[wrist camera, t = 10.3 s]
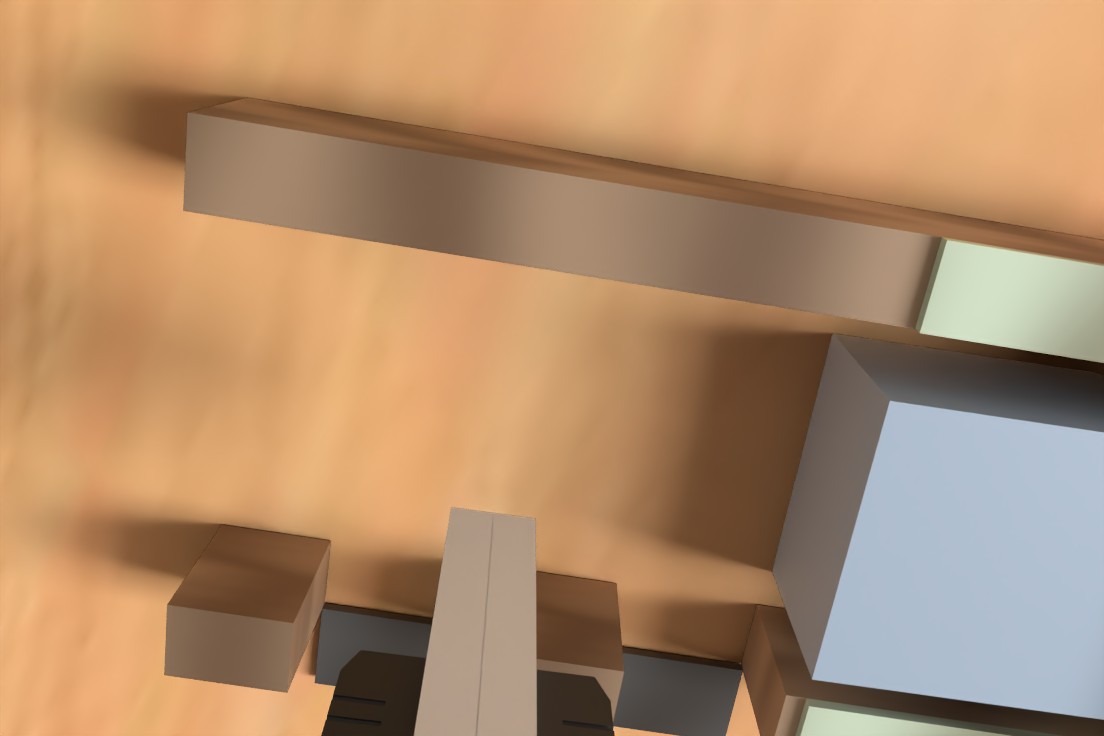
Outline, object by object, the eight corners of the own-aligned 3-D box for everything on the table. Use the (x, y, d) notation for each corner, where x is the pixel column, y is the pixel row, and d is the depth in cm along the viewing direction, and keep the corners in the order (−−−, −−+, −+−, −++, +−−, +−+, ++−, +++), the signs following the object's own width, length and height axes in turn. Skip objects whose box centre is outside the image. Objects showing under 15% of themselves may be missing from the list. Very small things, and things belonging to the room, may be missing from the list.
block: (771, 568, 28) (811, 679, 23) (830, 331, 26) (889, 400, 21) (1014, 603, 28) (1104, 720, 24) (1095, 371, 26) (1213, 448, 21)
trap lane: (213, 661, 29) (128, 817, 23) (247, 97, 24) (147, 121, 18) (1050, 782, 30) (1162, 959, 24) (1258, 265, 25) (1463, 338, 19)
